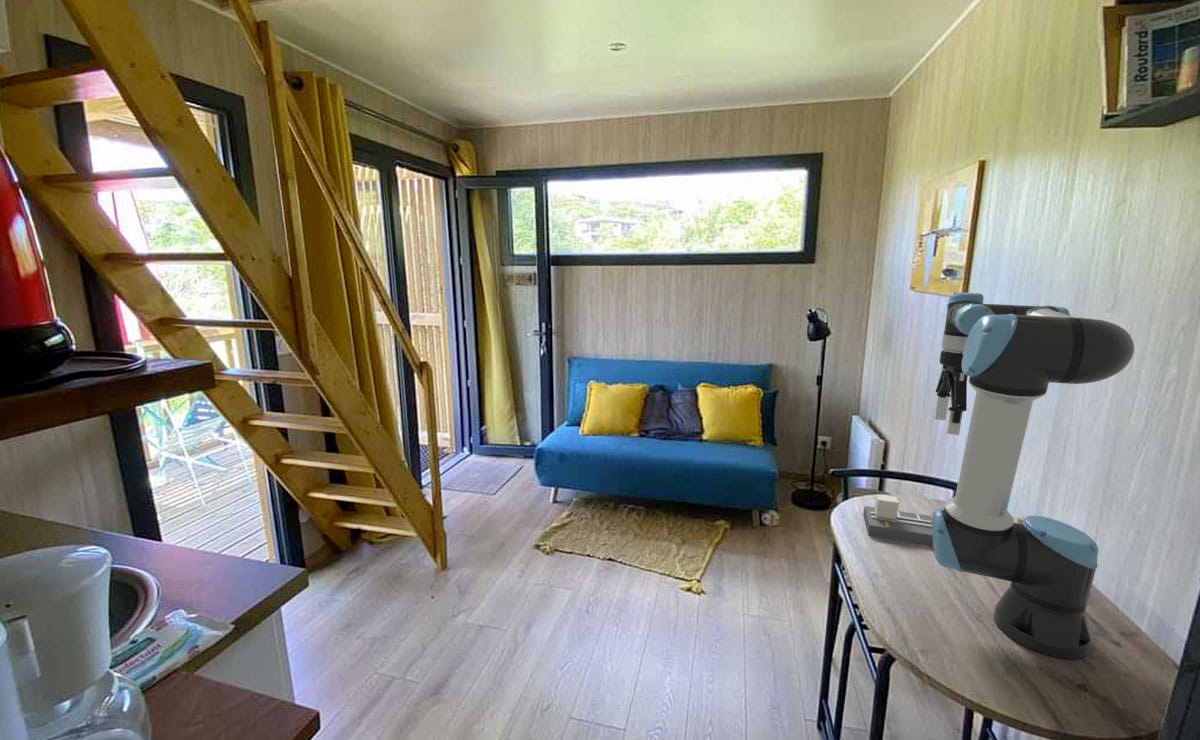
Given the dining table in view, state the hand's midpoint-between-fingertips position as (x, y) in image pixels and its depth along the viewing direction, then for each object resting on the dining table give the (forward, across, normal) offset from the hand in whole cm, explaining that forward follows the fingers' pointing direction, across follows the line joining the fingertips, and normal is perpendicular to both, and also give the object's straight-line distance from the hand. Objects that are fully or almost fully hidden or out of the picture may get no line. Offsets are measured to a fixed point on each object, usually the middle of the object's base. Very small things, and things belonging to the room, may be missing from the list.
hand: (945, 426), depth 146 cm
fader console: (+29, -9, +10) cm, 32 cm away
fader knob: (+25, -9, +13) cm, 30 cm away
